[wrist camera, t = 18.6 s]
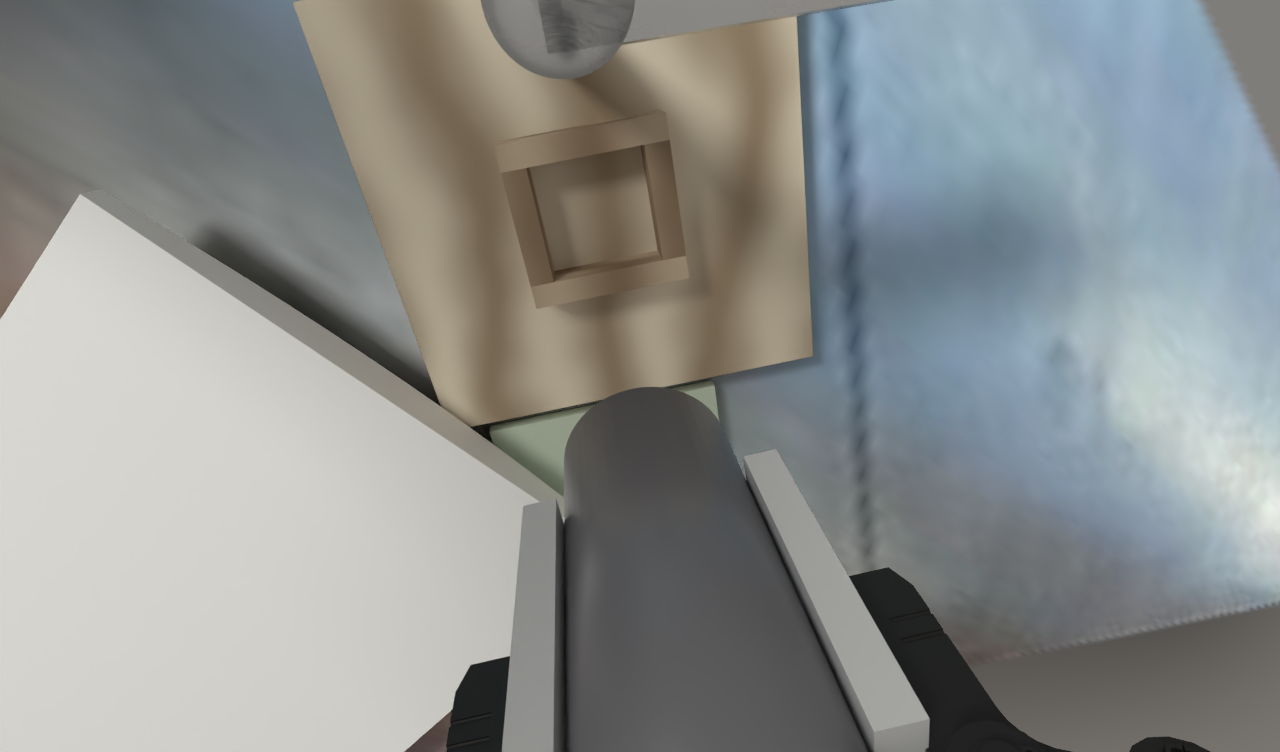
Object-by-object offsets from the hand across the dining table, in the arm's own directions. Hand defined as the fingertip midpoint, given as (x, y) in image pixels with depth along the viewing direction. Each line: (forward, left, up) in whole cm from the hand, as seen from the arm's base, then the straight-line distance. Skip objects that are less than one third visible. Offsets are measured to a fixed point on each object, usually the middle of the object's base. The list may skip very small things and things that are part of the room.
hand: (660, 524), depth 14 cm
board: (-30, -18, -23) cm, 42 cm away
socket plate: (0, +3, -23) cm, 23 cm away
